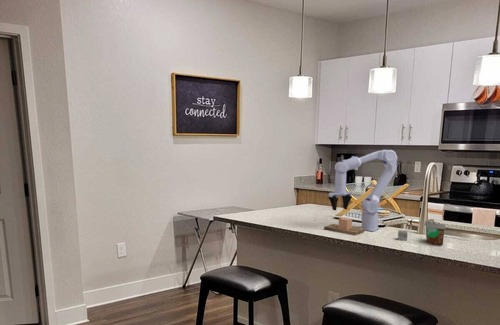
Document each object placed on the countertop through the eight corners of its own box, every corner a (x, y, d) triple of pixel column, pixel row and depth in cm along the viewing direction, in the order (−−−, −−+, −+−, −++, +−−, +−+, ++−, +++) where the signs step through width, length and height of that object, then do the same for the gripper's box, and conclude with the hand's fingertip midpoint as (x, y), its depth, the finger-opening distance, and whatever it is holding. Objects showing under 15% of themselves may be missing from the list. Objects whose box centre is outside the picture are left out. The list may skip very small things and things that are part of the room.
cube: (343, 226, 202) (343, 217, 202) (351, 228, 199) (352, 218, 198) (338, 228, 198) (338, 218, 198) (347, 229, 195) (347, 220, 195)
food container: (419, 239, 185) (420, 218, 184) (432, 239, 184) (433, 219, 184) (430, 246, 172) (431, 224, 172) (444, 246, 172) (445, 224, 172)
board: (333, 226, 209) (333, 223, 209) (364, 232, 197) (364, 229, 197) (323, 229, 202) (324, 226, 202) (355, 235, 190) (355, 232, 190)
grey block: (397, 238, 186) (398, 230, 186) (406, 239, 184) (407, 231, 184) (398, 240, 182) (398, 232, 182) (407, 241, 181) (407, 232, 180)
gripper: (335, 185, 196) (334, 211, 196) (356, 184, 203) (355, 209, 203) (326, 184, 202) (325, 209, 203) (346, 183, 209) (346, 207, 210)
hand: (339, 209), depth 203 cm, fingers open, 7 cm apart
